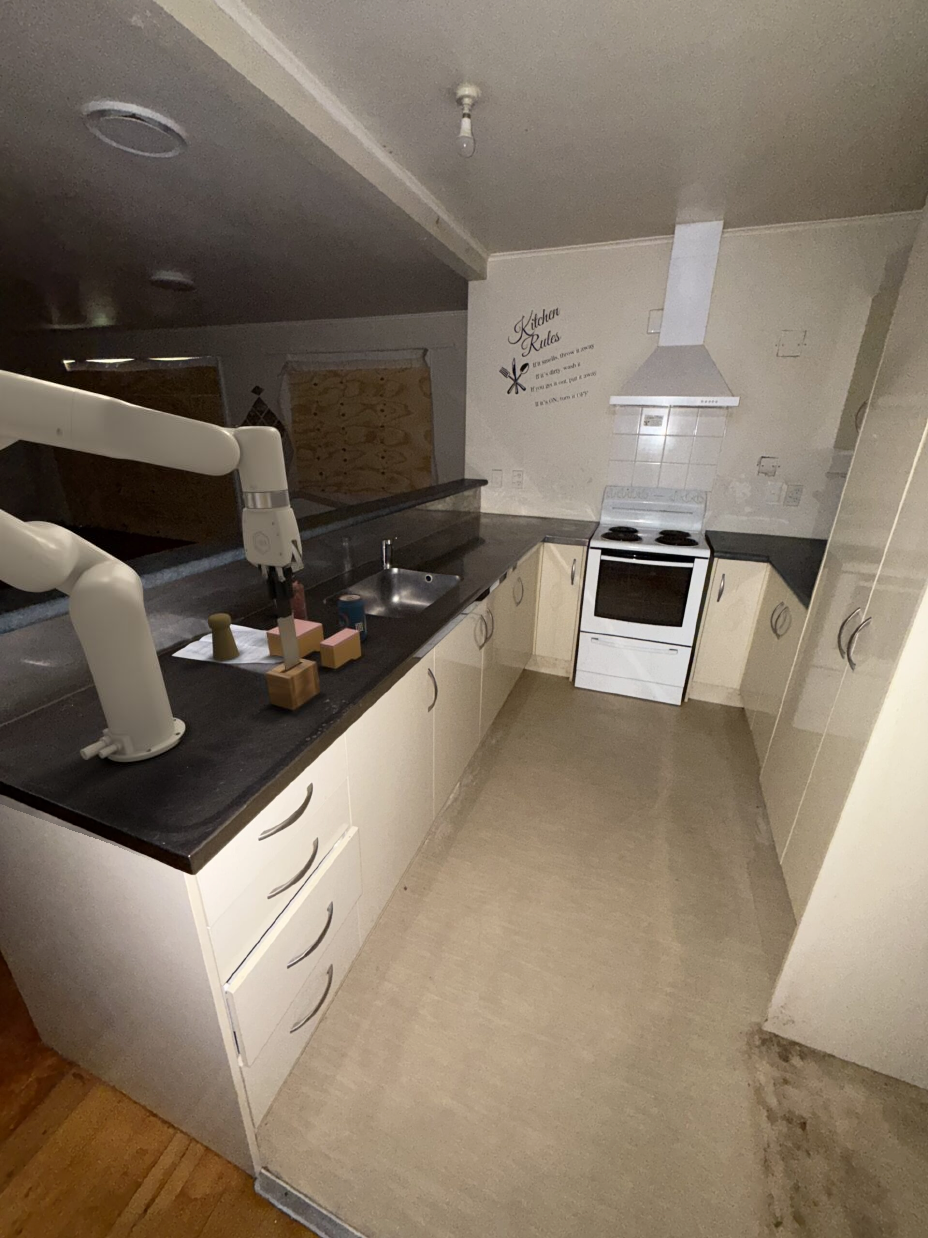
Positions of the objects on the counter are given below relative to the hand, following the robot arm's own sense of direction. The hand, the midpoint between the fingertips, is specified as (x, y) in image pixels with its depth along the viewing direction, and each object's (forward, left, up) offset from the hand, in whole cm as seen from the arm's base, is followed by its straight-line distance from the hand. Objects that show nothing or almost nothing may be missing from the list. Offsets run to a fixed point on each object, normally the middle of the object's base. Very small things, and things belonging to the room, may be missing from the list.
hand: (281, 597), depth 93 cm
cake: (+19, +17, -23) cm, 34 cm away
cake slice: (+19, +3, -23) cm, 30 cm away
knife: (0, 0, -15) cm, 15 cm away
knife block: (0, 0, -23) cm, 23 cm away
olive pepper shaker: (+10, +32, -23) cm, 41 cm away
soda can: (+32, +9, -23) cm, 40 cm away
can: (+30, +27, -23) cm, 46 cm away
